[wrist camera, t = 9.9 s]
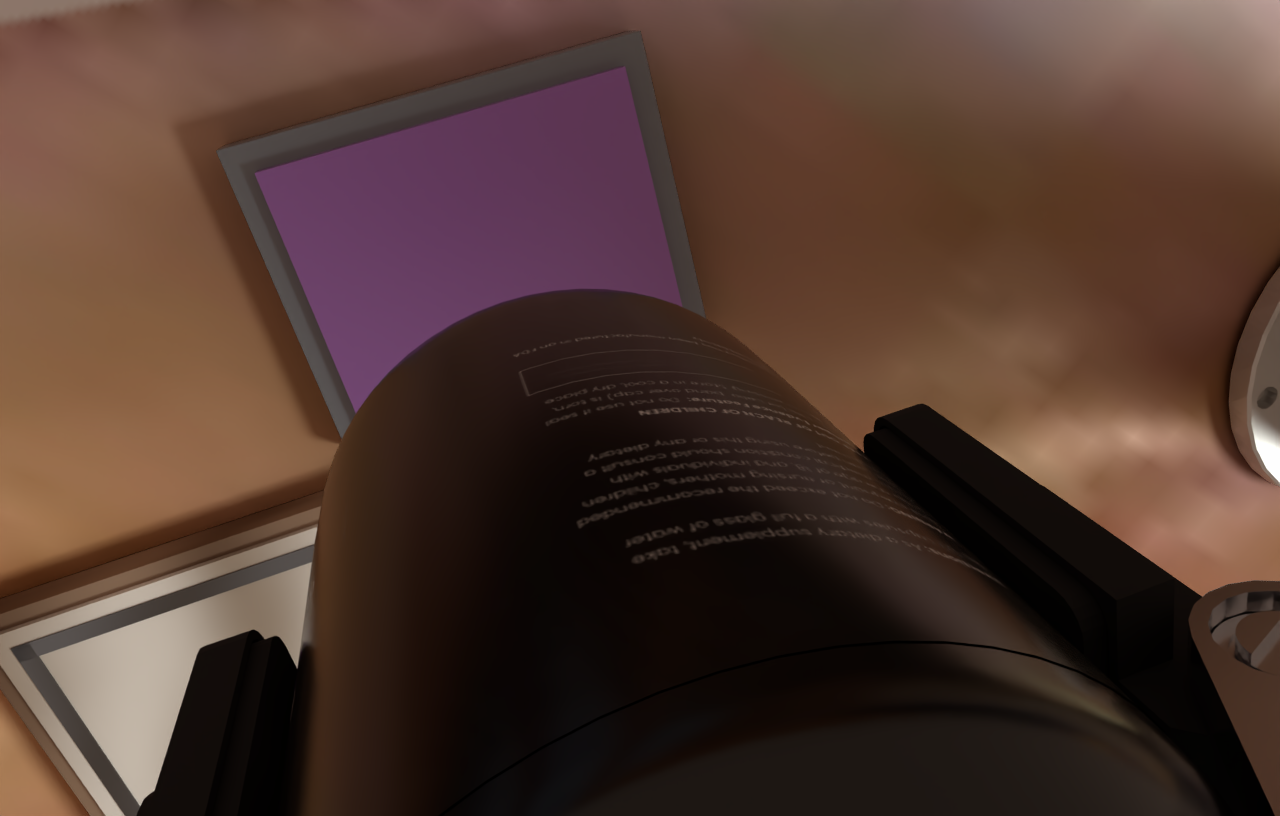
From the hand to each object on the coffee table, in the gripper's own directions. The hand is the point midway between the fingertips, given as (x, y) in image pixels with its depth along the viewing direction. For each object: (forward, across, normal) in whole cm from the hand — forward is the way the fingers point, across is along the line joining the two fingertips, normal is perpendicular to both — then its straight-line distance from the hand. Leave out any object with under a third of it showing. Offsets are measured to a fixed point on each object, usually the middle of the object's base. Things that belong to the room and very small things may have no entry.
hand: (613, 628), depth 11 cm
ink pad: (+18, 0, -1) cm, 18 cm away
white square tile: (+18, +11, +11) cm, 23 cm away
